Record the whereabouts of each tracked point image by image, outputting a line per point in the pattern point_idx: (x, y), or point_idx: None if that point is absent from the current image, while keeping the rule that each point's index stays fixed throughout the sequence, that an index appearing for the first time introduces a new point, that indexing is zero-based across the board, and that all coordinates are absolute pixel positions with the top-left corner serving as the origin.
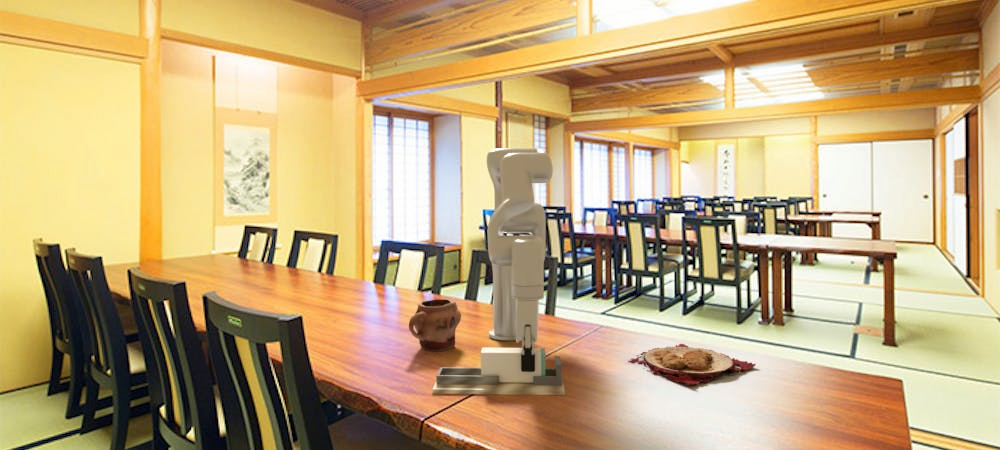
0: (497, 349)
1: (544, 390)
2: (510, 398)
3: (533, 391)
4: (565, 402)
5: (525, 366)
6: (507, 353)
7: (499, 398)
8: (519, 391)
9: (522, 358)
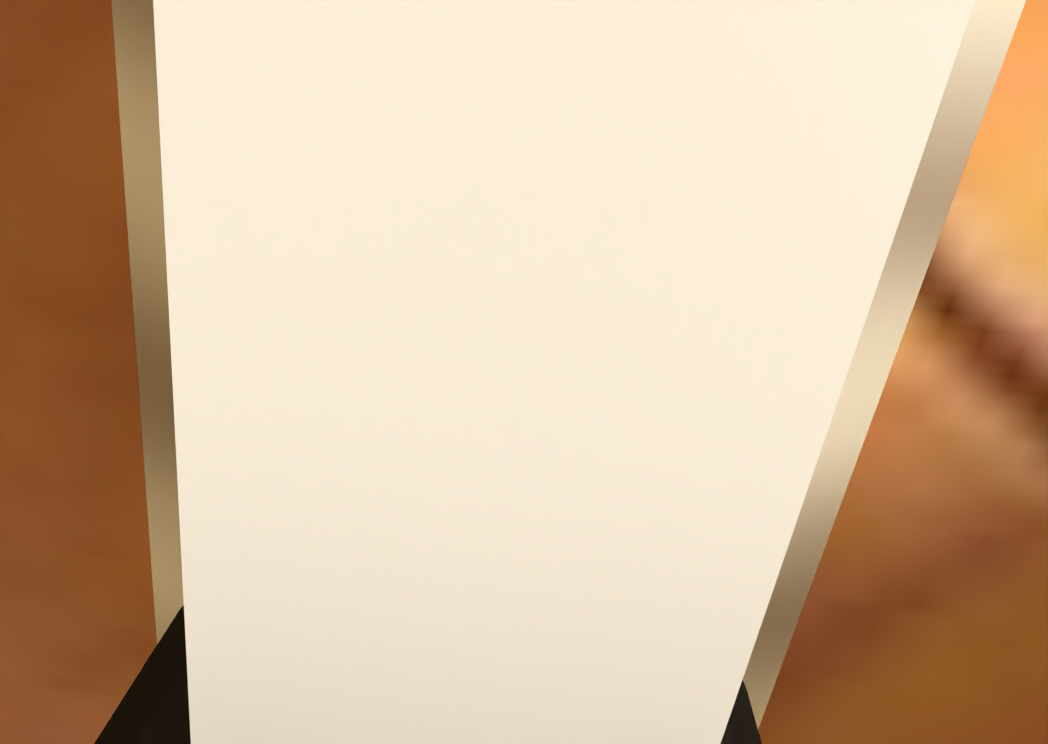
0: (649, 123)
1: (157, 611)
2: (28, 187)
3: (154, 495)
4: (13, 706)
5: (177, 629)
6: (182, 449)
7: (4, 24)
8: (140, 335)
9: (167, 707)
